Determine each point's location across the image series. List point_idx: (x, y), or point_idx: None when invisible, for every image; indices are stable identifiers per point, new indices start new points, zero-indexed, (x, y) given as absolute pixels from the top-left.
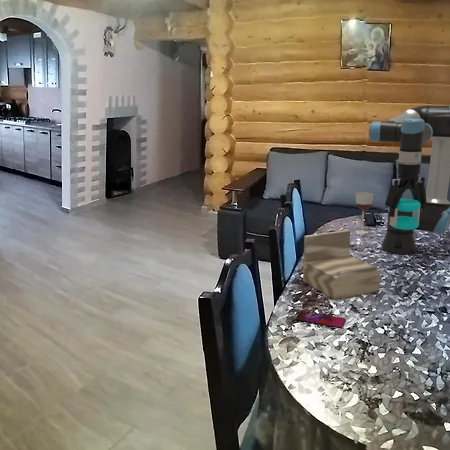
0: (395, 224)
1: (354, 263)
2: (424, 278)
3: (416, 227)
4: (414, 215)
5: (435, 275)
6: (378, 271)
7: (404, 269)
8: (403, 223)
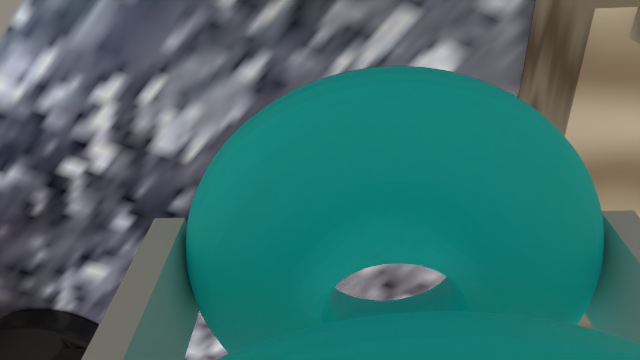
0: (635, 227)
1: (627, 179)
2: (157, 34)
3: (322, 79)
4: (169, 347)
5: (67, 48)
6: (615, 4)
7: (182, 177)
8: (570, 174)
